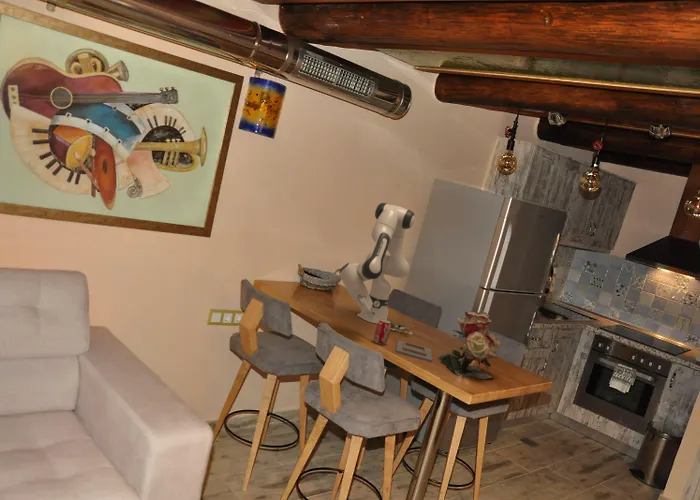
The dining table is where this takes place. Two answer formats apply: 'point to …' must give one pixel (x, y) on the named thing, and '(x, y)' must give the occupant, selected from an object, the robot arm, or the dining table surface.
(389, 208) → the robot arm
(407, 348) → the coaster board
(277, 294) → the dining table surface
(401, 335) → the dining table surface
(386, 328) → the soda can
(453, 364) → the rose bouquet
